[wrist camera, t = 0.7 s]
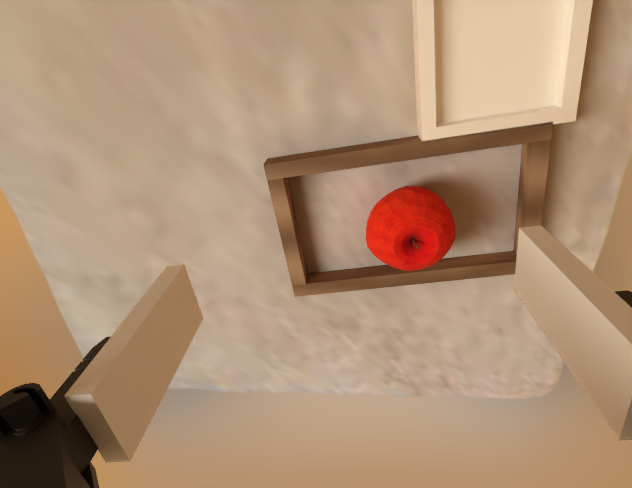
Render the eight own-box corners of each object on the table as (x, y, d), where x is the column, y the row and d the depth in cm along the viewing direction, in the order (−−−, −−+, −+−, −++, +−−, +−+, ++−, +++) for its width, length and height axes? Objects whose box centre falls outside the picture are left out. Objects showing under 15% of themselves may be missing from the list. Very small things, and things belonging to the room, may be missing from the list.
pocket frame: (267, 158, 37) (263, 164, 35) (542, 116, 34) (553, 121, 32) (296, 286, 44) (294, 296, 42) (527, 261, 41) (535, 271, 39)
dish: (410, -24, 30) (415, -28, 28) (586, -60, 28) (602, -67, 26) (418, 138, 35) (422, 144, 34) (563, 116, 34) (575, 121, 32)
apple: (363, 247, 41) (367, 287, 35) (364, 175, 37) (368, 205, 31) (439, 246, 41) (458, 286, 34) (448, 173, 37) (471, 203, 30)
